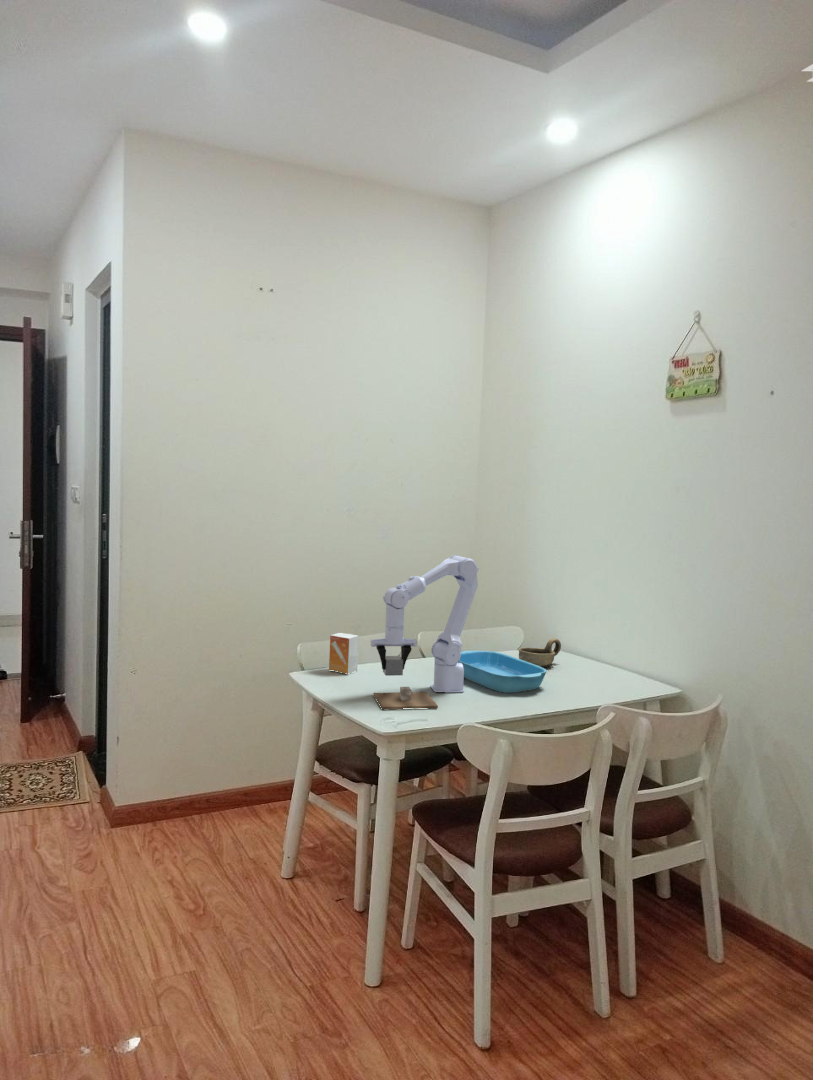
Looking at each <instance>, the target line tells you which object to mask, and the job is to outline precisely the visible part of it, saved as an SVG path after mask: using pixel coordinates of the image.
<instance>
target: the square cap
mask: <svg viewBox="0 0 813 1080" xmlns="http://www.w3.org/2000/svg"><path fill="white" fill-rule="evenodd" d="M382 672H383V674H384V675H385V676H386V677H387V676H389V677H390V676H394V677H395V676H403V675H404V669H403V659H402V658H401V655H386V657H385V670H383V669H382Z"/></svg>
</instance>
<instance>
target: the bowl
mask: <svg viewBox="0 0 813 1080" xmlns="http://www.w3.org/2000/svg"><path fill="white" fill-rule="evenodd" d="M554 643H555V645H554ZM553 645H554V648H553V649H552V647H553ZM561 647H562V643H561V641H560V640H559V639H558V638H554V637H553V638H550V639H548V641H547V643H546V645H545V647H543V648H542V647H541V648H540V647H539V648H538V647H519V648H518V659H520V660H523V661H526V662H529V663H532V664H535V665H537V666H540V667H547V666H549V665H551V664H553V663H554V661H555V657H556V656H557V655H559V653H560V651H561V649H562V648H561Z"/></svg>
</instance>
